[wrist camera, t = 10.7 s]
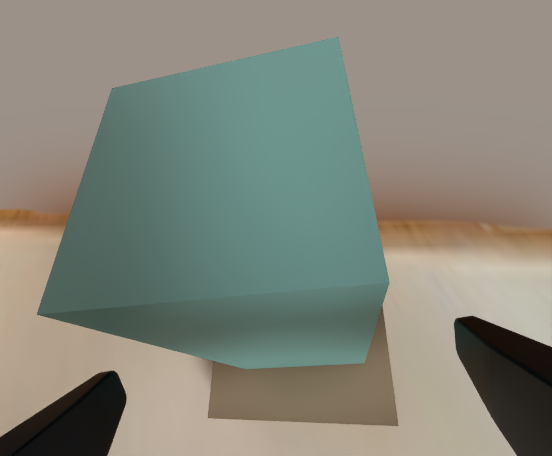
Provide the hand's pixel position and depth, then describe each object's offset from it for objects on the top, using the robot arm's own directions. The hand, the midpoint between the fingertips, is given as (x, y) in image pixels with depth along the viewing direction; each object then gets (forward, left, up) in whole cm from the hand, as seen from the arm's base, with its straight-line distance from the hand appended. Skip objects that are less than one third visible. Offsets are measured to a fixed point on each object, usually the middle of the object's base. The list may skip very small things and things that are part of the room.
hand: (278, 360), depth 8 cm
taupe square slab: (+3, -1, -13) cm, 13 cm away
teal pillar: (+3, -1, -8) cm, 9 cm away
